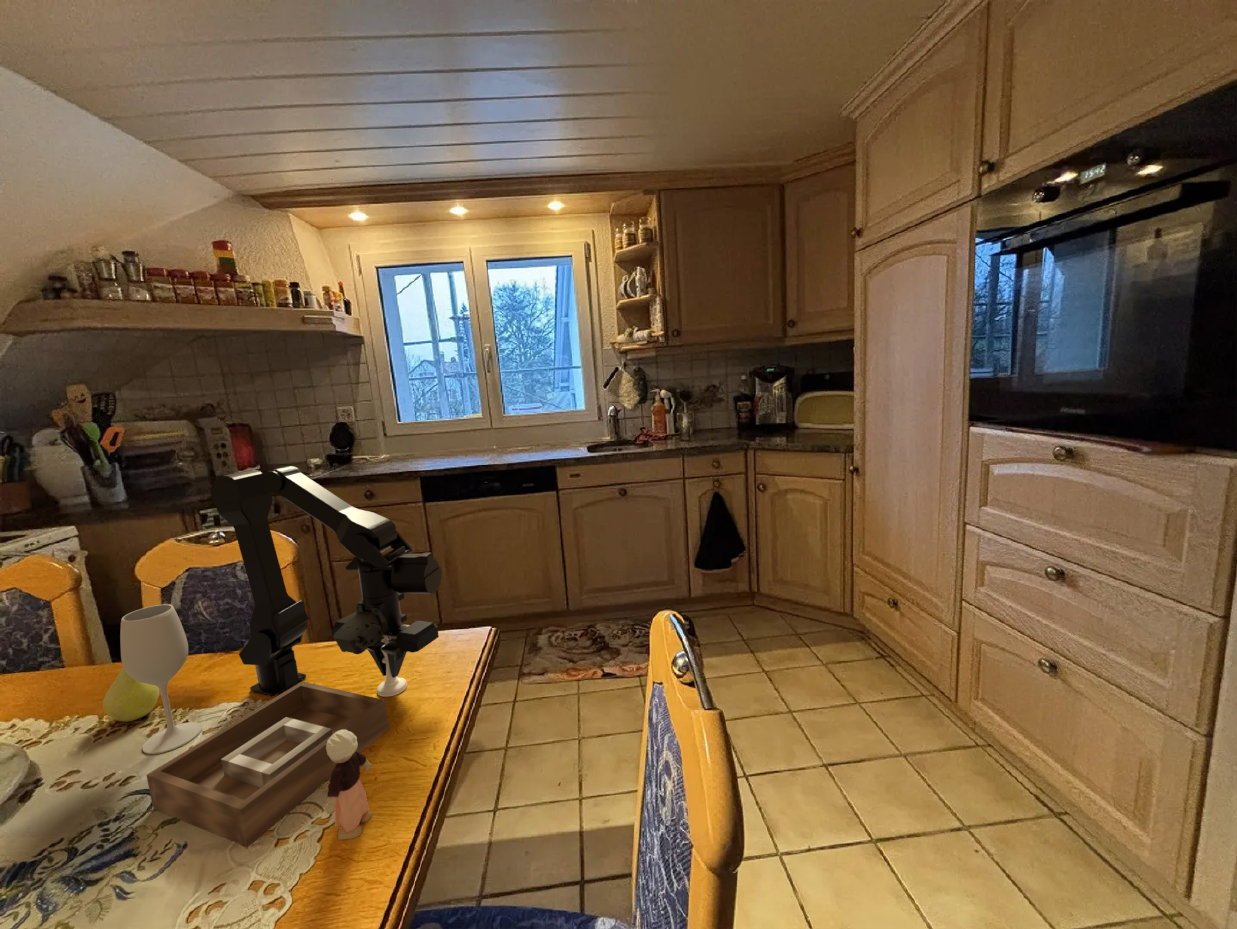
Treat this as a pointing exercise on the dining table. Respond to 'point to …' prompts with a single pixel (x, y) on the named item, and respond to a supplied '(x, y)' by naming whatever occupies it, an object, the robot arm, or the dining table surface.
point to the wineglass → (157, 665)
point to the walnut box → (264, 761)
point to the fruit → (129, 698)
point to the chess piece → (390, 679)
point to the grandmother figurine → (347, 785)
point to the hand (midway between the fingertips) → (390, 675)
